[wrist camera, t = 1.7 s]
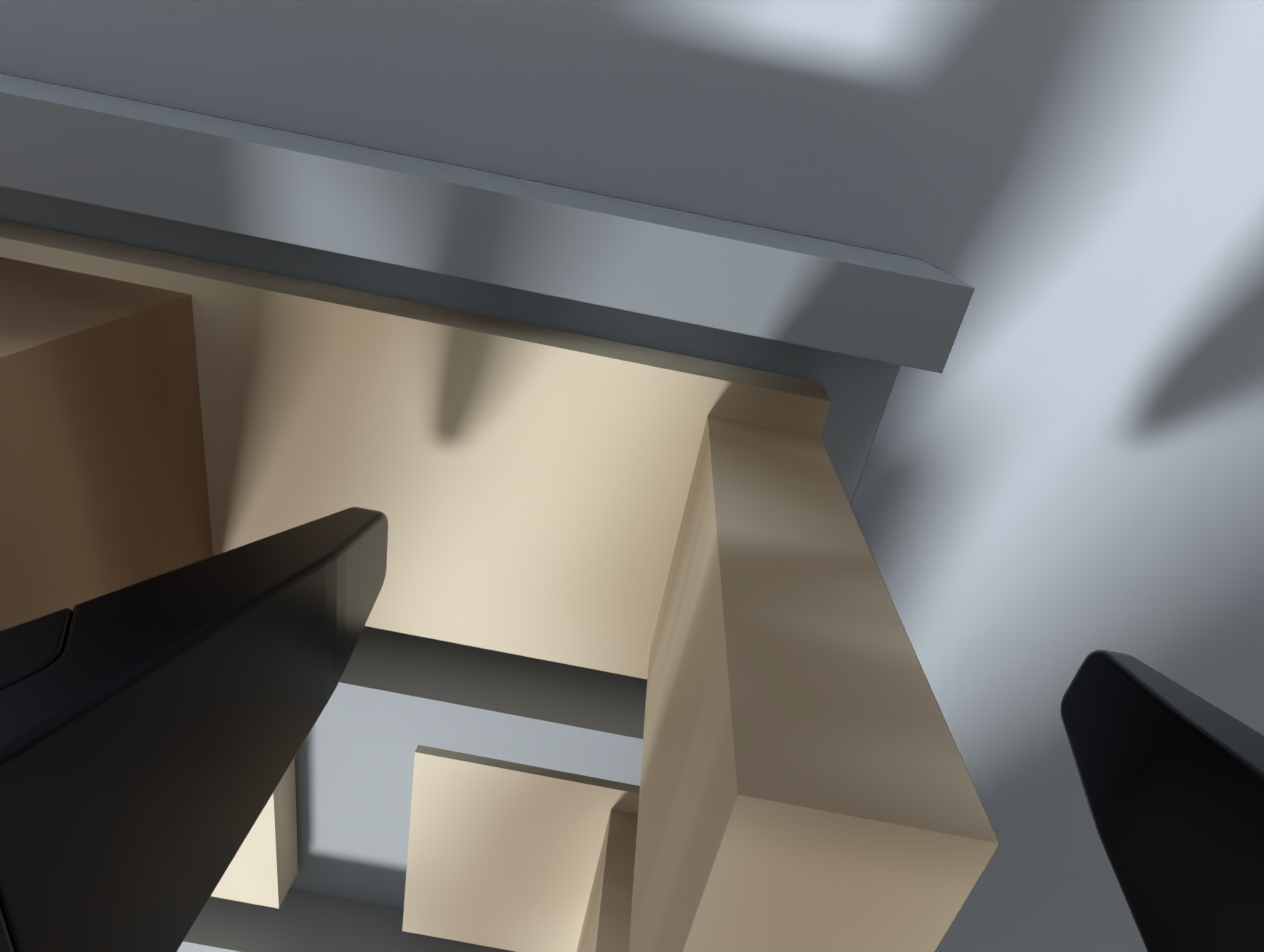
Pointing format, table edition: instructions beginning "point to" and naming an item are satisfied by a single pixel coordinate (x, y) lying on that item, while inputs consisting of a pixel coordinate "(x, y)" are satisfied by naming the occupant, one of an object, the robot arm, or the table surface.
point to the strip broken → (485, 855)
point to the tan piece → (610, 578)
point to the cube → (95, 438)
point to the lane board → (486, 285)
